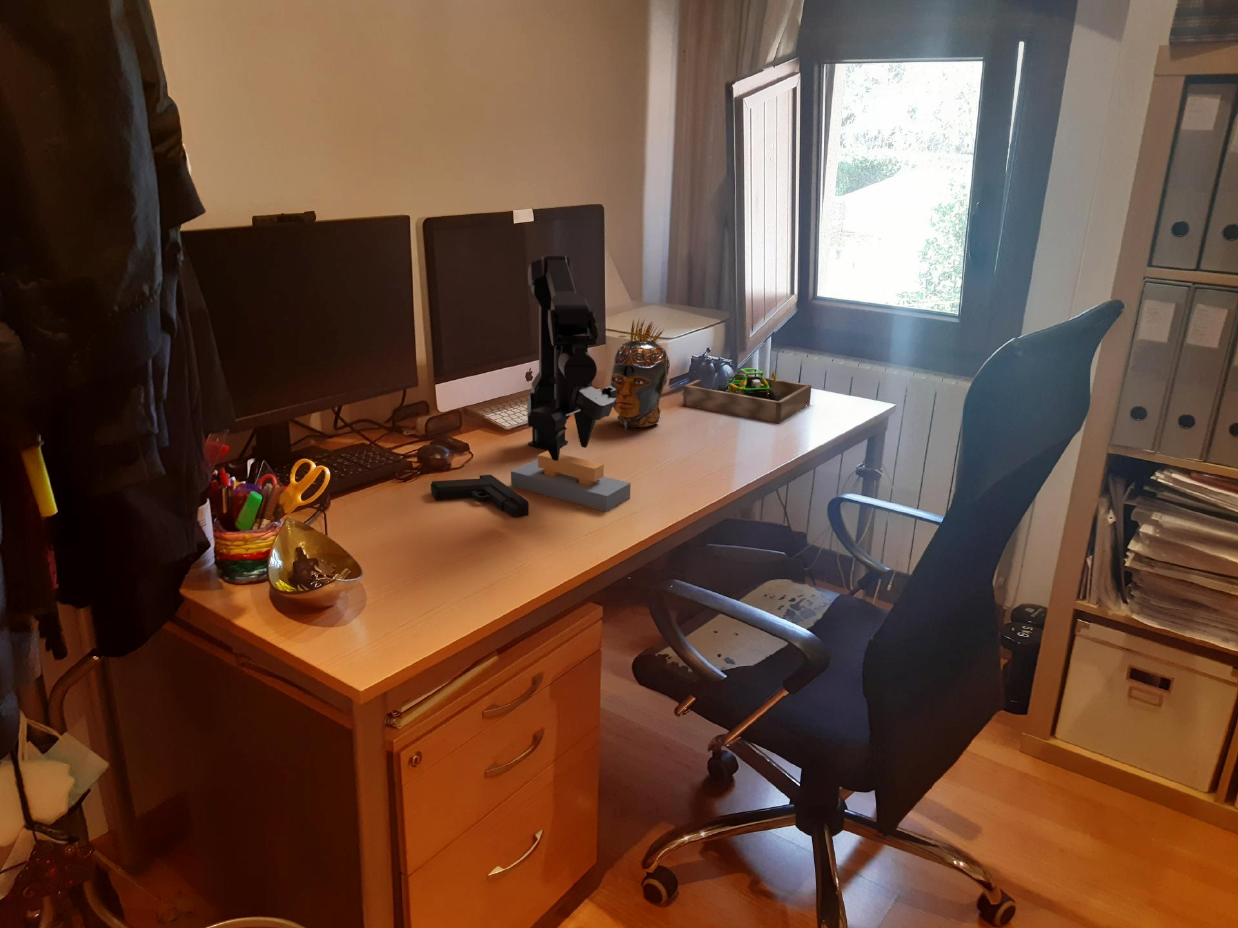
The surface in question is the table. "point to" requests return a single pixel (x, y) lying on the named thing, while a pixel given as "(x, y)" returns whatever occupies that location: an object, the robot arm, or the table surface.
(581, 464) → the wooden arch block
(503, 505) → the handgun
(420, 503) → the table surface
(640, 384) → the mask
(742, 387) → the motor vehicle
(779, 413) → the tray
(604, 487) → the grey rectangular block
